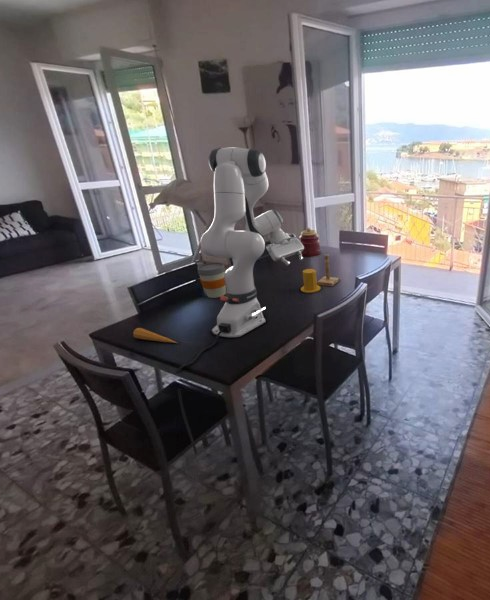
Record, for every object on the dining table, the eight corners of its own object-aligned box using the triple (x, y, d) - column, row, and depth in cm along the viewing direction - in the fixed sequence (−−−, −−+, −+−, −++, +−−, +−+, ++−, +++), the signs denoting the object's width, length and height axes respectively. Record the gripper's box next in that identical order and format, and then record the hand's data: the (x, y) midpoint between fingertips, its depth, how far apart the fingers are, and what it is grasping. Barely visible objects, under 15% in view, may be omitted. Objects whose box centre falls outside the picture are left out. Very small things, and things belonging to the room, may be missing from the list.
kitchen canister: (298, 256, 236) (295, 229, 229) (304, 250, 248) (302, 225, 240) (317, 256, 234) (315, 230, 227) (322, 251, 246) (320, 225, 238)
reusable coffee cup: (220, 287, 188) (214, 260, 182) (234, 292, 181) (229, 264, 175) (198, 295, 179) (191, 267, 172) (212, 301, 172) (206, 272, 166)
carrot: (134, 340, 141) (128, 333, 138) (142, 331, 144) (136, 324, 140) (177, 351, 137) (172, 344, 133) (184, 341, 140) (179, 335, 136)
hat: (315, 293, 178) (313, 275, 174) (297, 291, 181) (295, 273, 177) (323, 286, 187) (322, 268, 183) (306, 284, 190) (305, 266, 186)
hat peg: (332, 286, 187) (330, 258, 180) (317, 284, 190) (314, 256, 183) (339, 280, 195) (337, 253, 188) (324, 278, 197) (322, 251, 191)
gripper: (266, 242, 175) (282, 264, 174) (296, 233, 190) (311, 253, 189) (262, 249, 179) (277, 271, 178) (291, 240, 194) (306, 260, 193)
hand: (295, 262), depth 184 cm, fingers open, 8 cm apart
